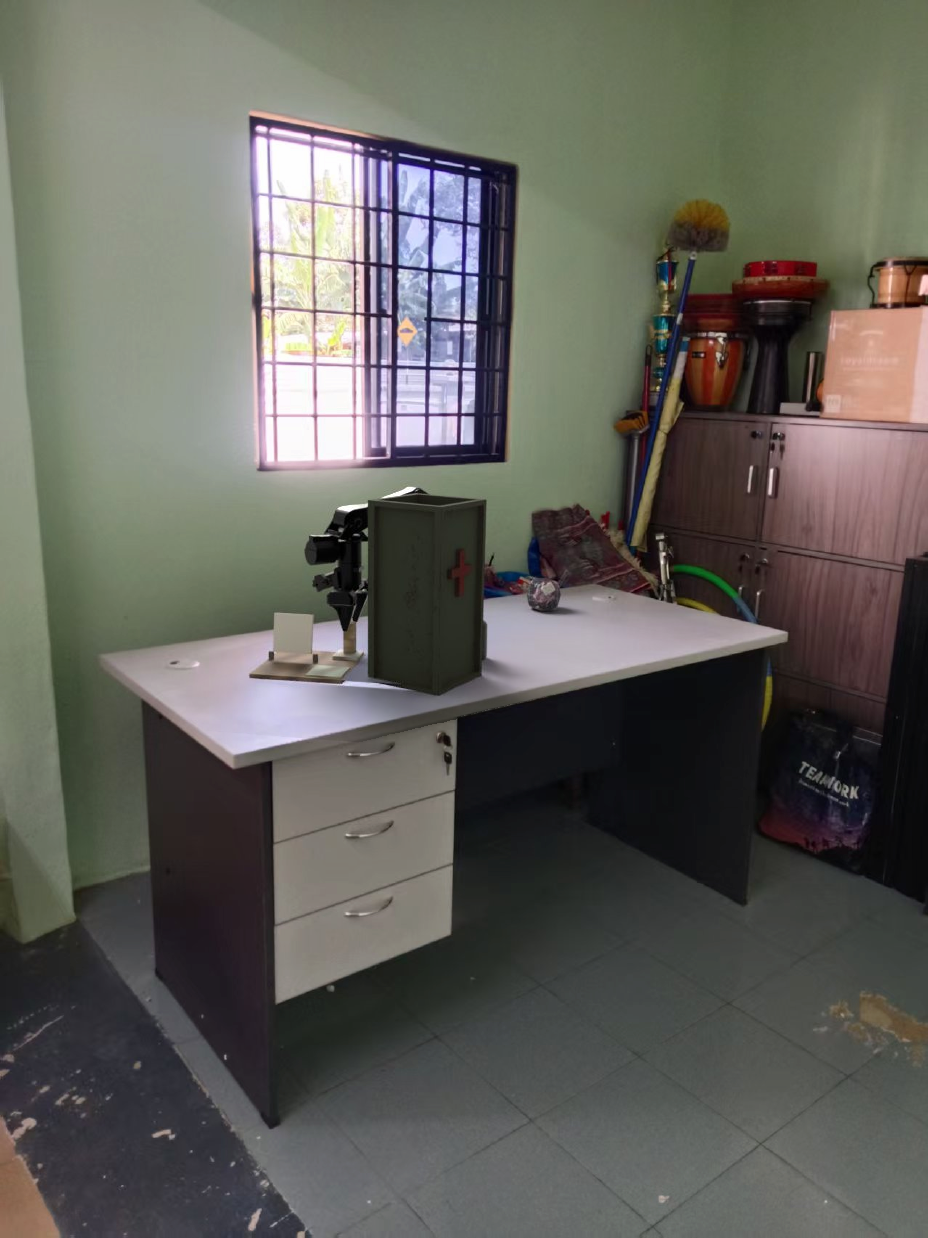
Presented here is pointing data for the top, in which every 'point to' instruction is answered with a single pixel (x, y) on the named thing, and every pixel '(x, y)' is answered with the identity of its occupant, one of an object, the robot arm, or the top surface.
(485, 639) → the supplement bottle
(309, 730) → the top surface
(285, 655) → the board
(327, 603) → the robot arm
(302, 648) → the tile
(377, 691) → the top surface
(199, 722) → the top surface
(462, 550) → the first aid box
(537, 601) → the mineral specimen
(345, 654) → the stamp
